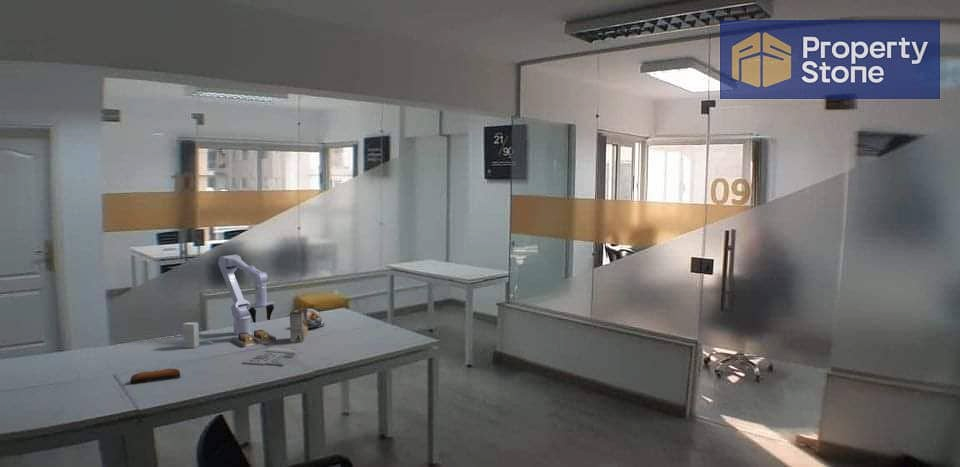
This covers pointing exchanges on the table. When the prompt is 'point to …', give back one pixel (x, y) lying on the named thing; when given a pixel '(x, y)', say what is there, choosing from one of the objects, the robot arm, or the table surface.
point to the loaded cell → (261, 335)
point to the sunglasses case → (155, 375)
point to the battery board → (256, 341)
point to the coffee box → (299, 325)
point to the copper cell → (246, 338)
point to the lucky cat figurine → (314, 318)
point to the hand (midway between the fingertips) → (261, 320)
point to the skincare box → (190, 335)
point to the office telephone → (273, 357)
